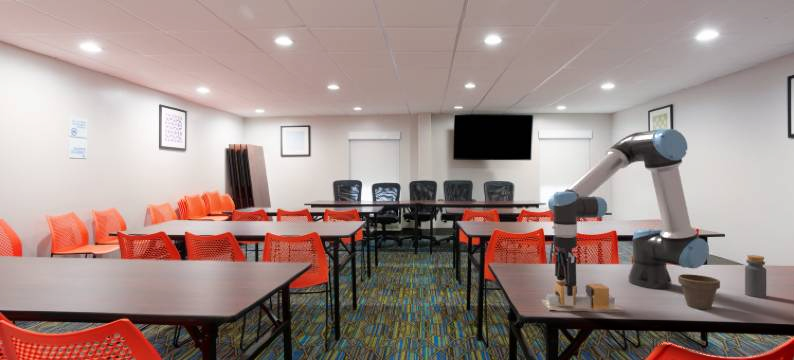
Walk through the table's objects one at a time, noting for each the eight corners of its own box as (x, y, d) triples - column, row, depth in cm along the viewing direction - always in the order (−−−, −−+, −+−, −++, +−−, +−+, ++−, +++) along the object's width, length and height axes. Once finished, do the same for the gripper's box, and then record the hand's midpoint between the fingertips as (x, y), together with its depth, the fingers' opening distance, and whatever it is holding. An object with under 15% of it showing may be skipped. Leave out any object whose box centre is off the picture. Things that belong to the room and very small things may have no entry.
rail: (608, 303, 134) (608, 282, 134) (622, 312, 125) (622, 290, 125) (540, 302, 135) (540, 281, 135) (549, 311, 126) (549, 289, 126)
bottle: (760, 293, 142) (760, 255, 142) (770, 298, 137) (770, 258, 137) (741, 292, 144) (741, 254, 144) (750, 297, 139) (750, 257, 139)
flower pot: (686, 298, 138) (686, 271, 138) (725, 307, 128) (725, 278, 128) (672, 304, 131) (672, 276, 131) (712, 314, 122) (712, 284, 122)
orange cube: (571, 299, 133) (571, 281, 133) (577, 305, 127) (577, 286, 127) (555, 299, 133) (555, 281, 133) (560, 304, 128) (560, 286, 128)
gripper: (545, 231, 140) (545, 292, 140) (564, 240, 121) (564, 310, 121) (565, 231, 139) (566, 293, 140) (587, 240, 121) (588, 311, 121)
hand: (565, 301), depth 130 cm, fingers closed on orange cube, 6 cm apart
